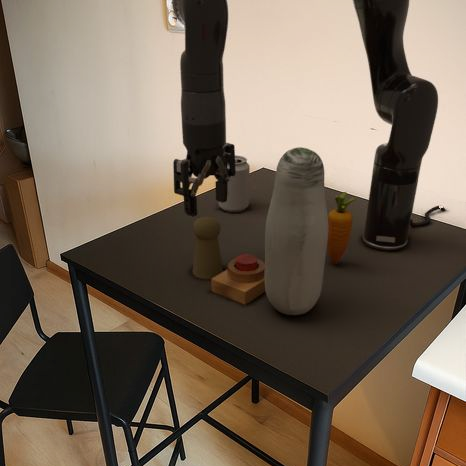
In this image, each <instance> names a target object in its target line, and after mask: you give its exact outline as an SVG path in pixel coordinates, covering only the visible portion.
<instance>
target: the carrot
mask: <svg viewBox="0 0 466 466" xmlns="http://www.w3.org/2000/svg"><path fill="white" fill-rule="evenodd" d="M346 198H347V191H343V192H342V194H340V195H339V194H338V195H336V196H334V200H335V203H336V205H337V206H336V207H337V208H334V209H332V210H331V211H330V212H329V213H327V214H328V242H327V253H328V256H329V259H330V261H331V263H332V264H333V265H334V266H336V265H337V264H339V262H340V261H341V259H342V258H343V256H344V254H345V252H346V249H347V247H348V244H349V242H350V238H351V233H352V227H353V220H354V215H353V213H352V212H351V211H349V210H348V209H347V207H348V206H349V205H350V204H351V203H353V202H355V201H356V198H354V197H352V198H350V199H348V200H347V201H346Z"/></svg>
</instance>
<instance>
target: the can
mask: <svg viewBox="0 0 466 466" xmlns="http://www.w3.org/2000/svg"><path fill="white" fill-rule="evenodd" d="M247 161H248V159H247V157H245V156H242V155H236V154H235V168H236V174H235V176H231V177H230V180H229V182H228V196H227V201H226V202H224V203H222V202H219V201H217V204H218V207H219V208H221V210H223V211H225V212H227V213H241V212H243V211H245V210H246V209H247V208H248V207H249V205H250V171H251V169H250V168H251V167H250V166H251V165H250V164H249V163H248V162H247ZM227 168H228V169H230V168H229V164H228V163H227Z"/></svg>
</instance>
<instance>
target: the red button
mask: <svg viewBox="0 0 466 466" xmlns="http://www.w3.org/2000/svg"><path fill="white" fill-rule="evenodd" d="M257 259H258V257H257V256H256V255H255V254H250V253H244V254H239V255H237V256H236V269H238V270H240V271H253V270H256V269H257Z"/></svg>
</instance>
